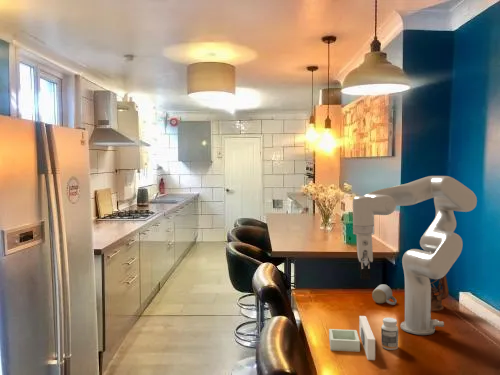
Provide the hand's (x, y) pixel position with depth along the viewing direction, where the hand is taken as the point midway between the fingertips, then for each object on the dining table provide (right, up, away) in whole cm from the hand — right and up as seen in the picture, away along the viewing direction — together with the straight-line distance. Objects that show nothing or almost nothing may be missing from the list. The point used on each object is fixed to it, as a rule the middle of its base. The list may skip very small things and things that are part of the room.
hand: (364, 275), depth 152 cm
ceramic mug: (+22, -22, +44) cm, 54 cm away
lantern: (+40, -22, +38) cm, 59 cm away
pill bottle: (+8, -25, -5) cm, 26 cm away
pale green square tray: (-8, -25, -3) cm, 26 cm away
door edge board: (0, -24, -4) cm, 25 cm away
